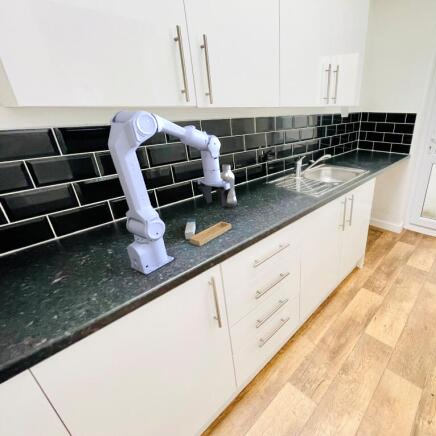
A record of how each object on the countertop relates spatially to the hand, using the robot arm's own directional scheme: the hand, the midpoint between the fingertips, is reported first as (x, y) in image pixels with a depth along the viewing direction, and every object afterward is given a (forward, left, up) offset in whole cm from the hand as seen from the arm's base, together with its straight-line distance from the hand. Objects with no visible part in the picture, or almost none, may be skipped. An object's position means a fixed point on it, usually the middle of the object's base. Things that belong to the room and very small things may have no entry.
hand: (216, 204), depth 98 cm
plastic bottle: (+20, +12, -10) cm, 25 cm away
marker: (-8, +7, -10) cm, 15 cm away
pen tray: (-6, -2, -10) cm, 12 cm away
